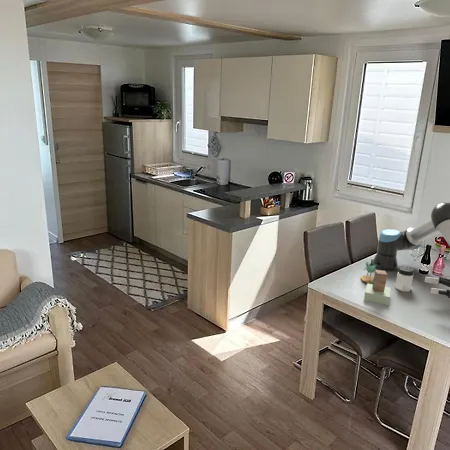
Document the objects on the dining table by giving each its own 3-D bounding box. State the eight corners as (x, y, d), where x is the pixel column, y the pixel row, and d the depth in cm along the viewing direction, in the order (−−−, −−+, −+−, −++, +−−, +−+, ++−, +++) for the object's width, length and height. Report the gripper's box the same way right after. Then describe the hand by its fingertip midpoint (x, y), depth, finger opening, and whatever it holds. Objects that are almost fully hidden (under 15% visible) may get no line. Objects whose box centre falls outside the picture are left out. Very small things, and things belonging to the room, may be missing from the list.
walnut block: (372, 287, 221) (375, 269, 218) (381, 288, 220) (385, 270, 217) (374, 291, 216) (377, 273, 213) (383, 292, 216) (387, 274, 213)
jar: (407, 285, 236) (411, 266, 232) (413, 291, 228) (417, 271, 224) (392, 284, 236) (395, 265, 232) (397, 291, 228) (401, 271, 224)
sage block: (365, 291, 227) (367, 283, 225) (389, 296, 223) (390, 287, 221) (364, 300, 216) (365, 292, 215) (388, 305, 212) (389, 297, 210)
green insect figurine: (360, 286, 232) (363, 261, 229) (359, 277, 249) (362, 253, 246) (378, 289, 230) (382, 263, 227) (376, 279, 247) (379, 255, 244)
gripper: (480, 309, 195) (432, 302, 199) (464, 287, 218) (421, 281, 222) (484, 294, 192) (435, 288, 197) (467, 274, 216) (424, 268, 220)
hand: (427, 284), depth 210 cm, fingers open, 13 cm apart
